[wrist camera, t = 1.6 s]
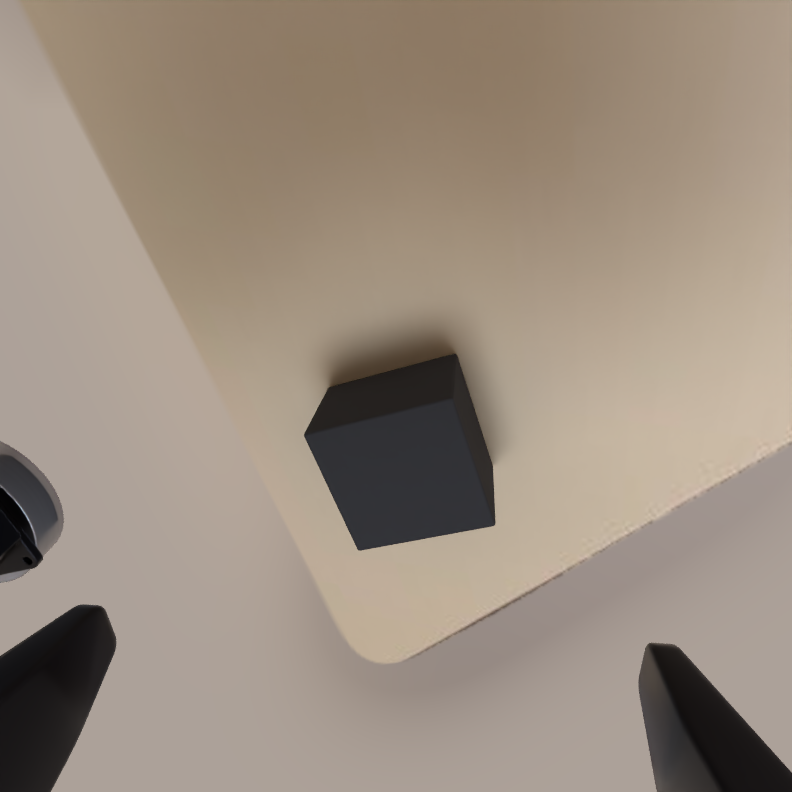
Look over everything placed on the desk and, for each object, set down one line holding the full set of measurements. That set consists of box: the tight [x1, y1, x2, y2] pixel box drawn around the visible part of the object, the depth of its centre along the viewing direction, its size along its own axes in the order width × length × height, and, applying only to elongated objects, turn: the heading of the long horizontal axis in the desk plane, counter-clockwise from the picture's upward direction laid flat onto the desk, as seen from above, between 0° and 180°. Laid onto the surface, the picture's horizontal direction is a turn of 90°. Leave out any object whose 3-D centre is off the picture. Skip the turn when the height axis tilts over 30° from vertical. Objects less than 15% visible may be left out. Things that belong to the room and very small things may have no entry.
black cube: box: [304, 354, 495, 550], centre depth 20 cm, size 5×5×4 cm
